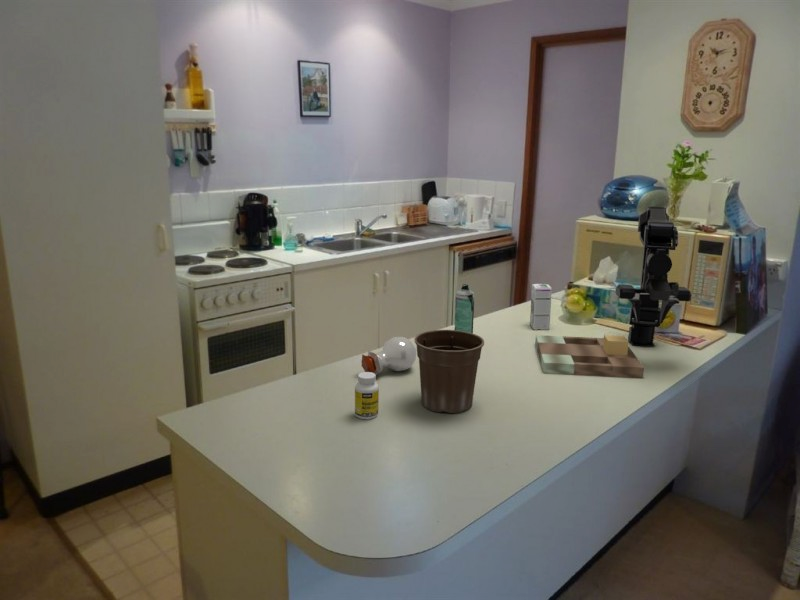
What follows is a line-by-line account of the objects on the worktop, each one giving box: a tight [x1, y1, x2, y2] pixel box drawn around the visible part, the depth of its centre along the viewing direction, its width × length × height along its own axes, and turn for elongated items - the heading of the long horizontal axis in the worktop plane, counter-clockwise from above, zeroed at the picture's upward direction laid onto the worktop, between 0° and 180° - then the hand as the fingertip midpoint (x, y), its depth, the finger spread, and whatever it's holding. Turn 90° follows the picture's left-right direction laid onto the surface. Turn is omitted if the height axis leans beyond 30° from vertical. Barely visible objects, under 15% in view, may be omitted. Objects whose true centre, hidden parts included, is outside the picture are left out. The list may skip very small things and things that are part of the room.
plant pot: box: [413, 329, 485, 414], centre depth 146 cm, size 16×16×16 cm
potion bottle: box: [361, 336, 417, 376], centre depth 167 cm, size 9×10×15 cm
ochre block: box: [603, 334, 630, 355], centre depth 176 cm, size 6×6×4 cm
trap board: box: [534, 334, 645, 379], centre depth 177 cm, size 26×24×3 cm
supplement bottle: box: [354, 371, 380, 420], centre depth 141 cm, size 5×5×10 cm
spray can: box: [453, 283, 475, 334], centre depth 183 cm, size 6×6×20 cm
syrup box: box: [529, 283, 553, 331], centre depth 206 cm, size 6×6×14 cm
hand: (649, 322), depth 173 cm, fingers open, 6 cm apart
